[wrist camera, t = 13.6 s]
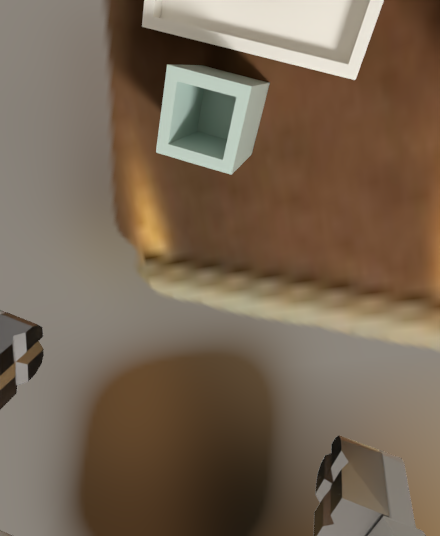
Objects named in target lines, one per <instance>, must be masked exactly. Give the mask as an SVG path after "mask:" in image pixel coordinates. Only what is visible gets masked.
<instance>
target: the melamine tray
mask: <svg viewBox="0 0 440 536" xmlns="http://www.w3.org/2000/svg"><path fill="white" fill-rule="evenodd" d="M383 1H384V0H144V8H143V19H142V27H145V28H149V29H153V30H157V31H161V32H165V33H169V34H173V35H177V36H181V37H185V38H189V39H193V40H197V41H201V42H205V43H209V44H213V45H217V46H221V47H225V48H229V49H233V50H237V51H241V52H245V53H249V54H253V55H257V56H261V57H265V58H269V59H273V60H277V61H281V62H285V63H289V64H293V65H297V66H301V67H305V68H309V69H313V70H317V71H321V72H325V73H329V74H333V75H337V76H341V77H345V78H349V79H353V80H356V77H357V74H358V72H359V69H360V66H361V63H362V60H363V57H364V55H365V52H366V49H367V46H368V43H369V41H370V38H371V35H372V32H373V29H374V26H375V24H376V21H377V18H378V15H379V12H380V9H381V7H382V4H383Z"/></svg>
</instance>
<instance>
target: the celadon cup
mask: <svg viewBox="0 0 440 536" xmlns="http://www.w3.org/2000/svg"><path fill="white" fill-rule="evenodd" d="M269 84H270V83H269V82H265V81H261V80H257V79H253V78H249V77H245V76H242V75H238V74H234V73H230V72H226V71H222V70H218V69H214V68H211V67H207V66H203V65H173V64H167V69H166V77H165V85H164V93H163V101H162V109H161V117H160V125H159V133H158V140H157V148H156V153H160V154H163V155H166V156H170V157H173V158H177V159H180V160H183V161H187V162H190V163H194V164H197V165H200V166H204V167H207V168H211V169H214V170H217V171H221V172H224V173H228V174H231V175H232V174H233V173H234V172H235V171H236V170H237V169H238V168H239V167H240V166H241V165H242V164H243V163H244V162H245V161H246V160H247V159H248V158H249V157H250V156H251V155H252V151H253V147H254V143H255V139H256V135H257V131H258V127H259V123H260V119H261V115H262V111H263V107H264V103H265V99H266V95H267V91H268V87H269Z"/></svg>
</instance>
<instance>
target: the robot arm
mask: <svg viewBox="0 0 440 536" xmlns="http://www.w3.org/2000/svg"><path fill="white" fill-rule="evenodd" d="M42 337H43V330H42V327H41V326H39V325H37V324H35V323H32V322H30V321H27V320H25V319H22V318H20V317H17V316H15V315H12V314H10V313H7V312H4V311H1V310H0V409H1V408H3V407H4V406H5V404H6V403H8V402H9V401H10V399H11V398H12V397H13V396H14V395H15V394H16V393H17V385H20V384H22V383H25V382H28V381H29V380H30V379H31V378H32V377H33V376H34V375H35V374H36V372H37V371H38V369H39V367H40V365H41V363H42V360H43V356H44V354H43V348H42V346H41V344H40V343H39V340H40V339H41V338H42ZM315 494H316V496H317V498H318V500H319V502H320V504H319V506H318V507H317V509H316V511H315V512H314V535H313V536H426V535H425V534H424V532H423V531H421V530H419V529H417V528H416V527H415V521H414V516H413V510H412V504H411V500H410V493H409V488H408V482H407V477H406V471H405V465H404V462H403V460H402V458H400V457H397V456H394V455H392V454H389V453H386V452H383V451H381V450H378V449H376V448H373V447H370V446H367V445H364V444H362V443H359V442H356V441H353V440H350V439H348V438H345V437H342V436H337V437H336V438H335V439H334V441H333V443H332V445H331V453H330V454H328V455H325V457H324V459H323V460H322V462H321V465H320V468H319V471H318V474H317V481H316V492H315ZM0 536H12V535H10V534H8V533H6V532H3V531H1V530H0Z"/></svg>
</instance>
